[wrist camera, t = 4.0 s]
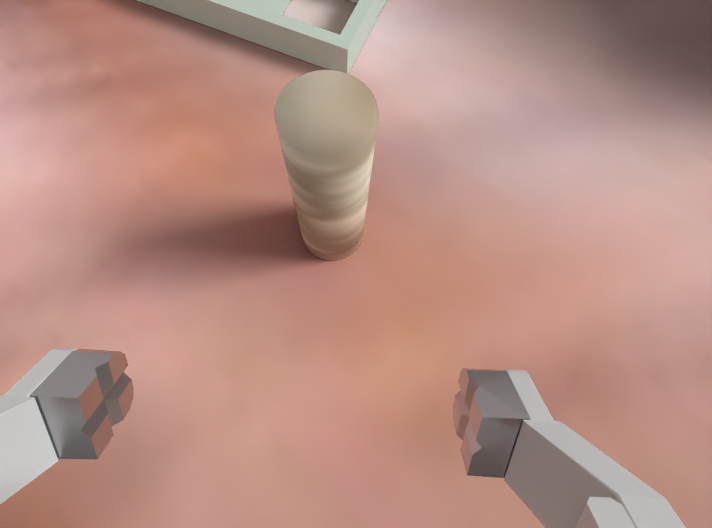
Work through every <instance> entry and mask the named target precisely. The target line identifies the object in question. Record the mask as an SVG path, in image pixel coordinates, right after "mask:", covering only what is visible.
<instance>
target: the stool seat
mask: <svg viewBox="0 0 712 528" xmlns="http://www.w3.org/2000/svg"><path fill="white" fill-rule="evenodd" d="M137 1H140V2H142V3H145V4H148V5H151V6H154V7H156V8H159V9H162V10H165V11H167V12H170V13H173V14H176V15H179V16H181V17H184V18H187V19H190V20H192V21H195V22H198V23H201V24H203V25H206V26H209V27H212V28H215V29H217V30H220V31H223V32H226V33H228V34H231V35H234V36H237V37H240V38H242V39H245V40H248V41H251V42H253V43H256V44H259V45H262V46H265V47H267V48H270V49H273V50H276V51H278V52H281V53H284V54H287V55H290V56H292V57H295V58H298V59H301V60H303V61H306V62H309V63H312V64H315V65H317V66H320V67H323V68H326V69H328V70H335V71H340V72H344V73H347V74H349V72H350V70H351V68H352V66H353V64H354V62H355V60H356V58H357V56H358V55H359V53H360V51H361V49H362V47H363V45H364V43H365V41H366V39H367V37H368V35H369V34H370V32H371V30H372V28H373V26H374V24H375V22H376V20H377V18H378V16H379V14H380V13H381V11H382V9H383V7H384V5H385V3H386V1H387V0H349V1H351V2H354V3H357V5H356V7H355V9H354V10H353V12H352V14H351V16H350V18H349V20H348V21H347V23H346V25H345V27H344V29H343V30H342V32H341V34H340V35H339V34H336V33H334V32H331V31H328V30H325V29H322V28H319V27H316V26H314V25H311V24H308V23H305V22H302V21H299V20H297V19H294V18H291V17H288V16H285V15H282V14H283V13H284V11H285V9H286V8H287V6H288V5H289V3H290V1H291V0H137Z"/></svg>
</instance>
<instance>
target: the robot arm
mask: <svg viewBox="0 0 712 528" xmlns="http://www.w3.org/2000/svg"><path fill="white" fill-rule="evenodd" d="M127 366H128V363H127V360H126V356H125V354H124V353H122V352H119V351H105V350H91V349H71V348H56V349H52V350H50V351H49V352H48V353H47V354H46V355H45V356H44V357H43V358H42V359H41V360H40V361H39V362H38V363H37V364H36V365H35V366H34V367H33V368H31V369H30V370H29V371H28V372H27V373H26V374H25V375H24V376H23V377H22V378H21V379H20V380H19V381H18V382H17V383H16V384H15V385H14V386H13V387H11V388H10V389H9V390H8V391H7V392H6V393H5V394H4V395H3V396H0V504H1V503H3V502H4V501H5V500H7V499H8V498H9V497H11V496H12V495H13V494H15V493H16V492H17V491H19V490H20V489H21V488H23V487H24V486H25V485H27V484H28V483H29V482H31V481H32V480H33V479H35V478H36V477H37V476H39V475H40V474H41V473H43V472H44V471H46V470H47V469H48V468H50V467H51V466H52V465H54V464H55V463H56V462H58V459H98V458H99V456H100V455H101V453H102V452H103V450H104V449H105V447H106V446H107V444H108V443H109V441H110V440H111V438H112V436H113V430H112V426H114V425H115V424H117V423H119V422H120V421H122V420H123V419H124V418H125V416H126V414H127V413H128V411H129V410H130V406H131V403H132V400H133V384H132V380H131V379H130V378H129V377H128V376H127V375H126V374H125V373H124V370H125V369H126V368H127ZM458 381H459V385H460V388H461V391H459V392H458V393H457V394H456V395H455V400H454V406H453V418H454V426H455V430H456V434H457V435H458V436H459V437H460V438H461V439H462V440H463V442H462V446H461V454H462V458H463V461H464V465H465V469H466V473H467V475H468V476H482V477H496V478H505V479H504V480H505V482H506V483H507V484H508V485H509V486H510V487H511V488H512V490H513V491H514V492H515V493H516V494H517V495H518V496H519V498H520V499H521V500H522V501H523V502H524V503H525V504H526V506H527V507H528V508H529V509H530V510H531V511H532V512H533V514H534V515H535V516H536V517H537V518H538V519H539V520H540V522H541V523H542V524H543V525H544V526H545V527H546V528H686V527H685V526H684V524H683V523H682V521H681V520H680V518H679V517H678V516H677V514H676V513H675V511H674V510H673V508H672V507H671V505H670V504H669V502H668V501H667V500H666V498H664V497H663V496H662V495H660V494H659V493H658V492H656V491H655V490H653V489H652V488H651V487H649V486H648V485H647V484H645V483H644V482H642V481H641V480H640V479H638V478H637V477H636V476H634V475H633V474H631V473H630V472H629V471H627V470H626V469H625V468H623V467H622V466H621V465H619V464H618V463H616V462H615V461H614V460H612V459H611V458H610V457H608V456H607V455H605V454H604V453H603V452H601V451H600V450H599V449H597V448H596V447H595V446H593V445H592V444H590V443H589V442H588V441H586V440H585V439H584V438H582V437H581V436H579V435H578V434H577V433H575V432H574V431H573V430H571V429H570V428H568V427H567V426H566V425H564V424H563V423H562V422H559V421H554V420H553V418H552V416H551V415H550V413H549V411H548V409H547V407H546V405H545V404H544V402H543V400H542V398H541V396H540V394H539V392H538V391H537V389H536V387H535V385H534V383H533V381H532V379H531V378H530V376H529V374H528V372H526V371H525V370H492V369H469V368H463V369H462V370H461V372H460V376H459V380H458Z"/></svg>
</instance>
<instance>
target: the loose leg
mask: <svg viewBox="0 0 712 528" xmlns="http://www.w3.org/2000/svg"><path fill="white" fill-rule="evenodd" d="M275 122H276V126H277V131H278V135H279V139H280V143H281V148H282V152H283V156H284V161H285V165H286V169H287V174H288V178H289V182H290V187H291V191H292V195H293V199H294V204H295V208H296V212H297V217H298V221H299V225H300V230H301V234H302V238H303V241H304V244H305V246H306V247H307V249H308V250H309V251H310V252H311V253H312V254H313V255H315V256H316V257H318V258H320V259H323V260H329V261H336V260H341V259H344V258H346V257H348V256H350V255H351V254H353V253H354V252H355V251H356V250H357V248H358V247H359V245H360V244H361V241H362V237H363V230H364V223H365V215H366V207H367V200H368V192H369V185H370V177H371V169H372V162H373V154H374V147H375V139H376V131H377V124H378V105H377V102H376V99H375V97H374V95H373V93H372V92H371V90H370V89H369V88H368V87H367V86H366V85H365V84H364V83H363V82H362V81H360V80H359V79H357V78H356V77H354V76H352V75H349V74H347V73H344V72H340V71H335V70H318V71H312V72H308V73H306V74H303V75H301V76H299V77H297V78H295V79H294V80H292V81H291V82H290V83H289V84H287V85H286V86H285V88H284V89H283V90H282V91H281V93H280V94H279V96H278V99H277V101H276V104H275Z"/></svg>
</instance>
